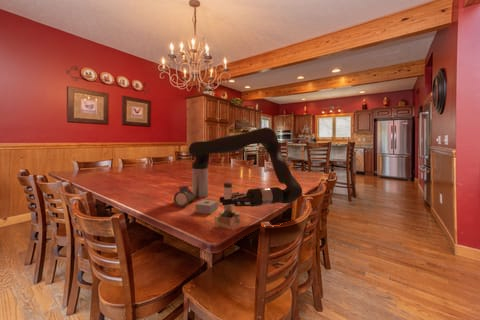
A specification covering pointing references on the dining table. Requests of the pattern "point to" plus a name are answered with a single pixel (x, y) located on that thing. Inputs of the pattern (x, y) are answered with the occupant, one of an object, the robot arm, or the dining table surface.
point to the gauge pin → (228, 196)
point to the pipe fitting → (183, 196)
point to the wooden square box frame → (227, 220)
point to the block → (206, 206)
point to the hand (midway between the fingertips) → (221, 201)
